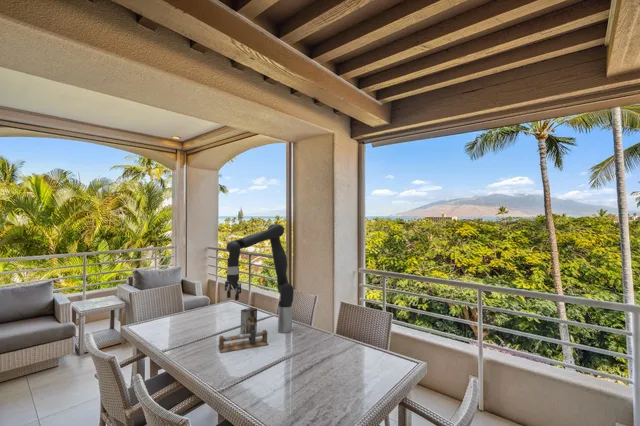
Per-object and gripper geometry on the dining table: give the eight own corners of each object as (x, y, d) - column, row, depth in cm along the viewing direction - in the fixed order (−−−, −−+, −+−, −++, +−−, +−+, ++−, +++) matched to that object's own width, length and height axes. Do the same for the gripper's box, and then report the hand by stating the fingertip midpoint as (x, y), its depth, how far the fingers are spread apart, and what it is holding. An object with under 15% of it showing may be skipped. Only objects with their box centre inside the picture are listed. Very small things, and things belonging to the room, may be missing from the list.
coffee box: (250, 330, 198) (251, 306, 198) (256, 332, 194) (257, 308, 194) (239, 333, 190) (240, 309, 191) (245, 336, 186) (246, 311, 187)
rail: (264, 339, 182) (264, 328, 183) (268, 345, 174) (268, 333, 174) (218, 346, 170) (218, 334, 170) (220, 353, 161) (221, 340, 161)
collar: (252, 338, 178) (253, 322, 178) (255, 342, 172) (255, 326, 172) (248, 339, 177) (249, 323, 177) (251, 343, 170) (251, 326, 171)
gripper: (244, 273, 178) (244, 299, 178) (231, 271, 187) (231, 295, 186) (234, 275, 172) (234, 302, 172) (221, 272, 181) (221, 298, 180)
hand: (232, 298), depth 179 cm, fingers open, 8 cm apart
